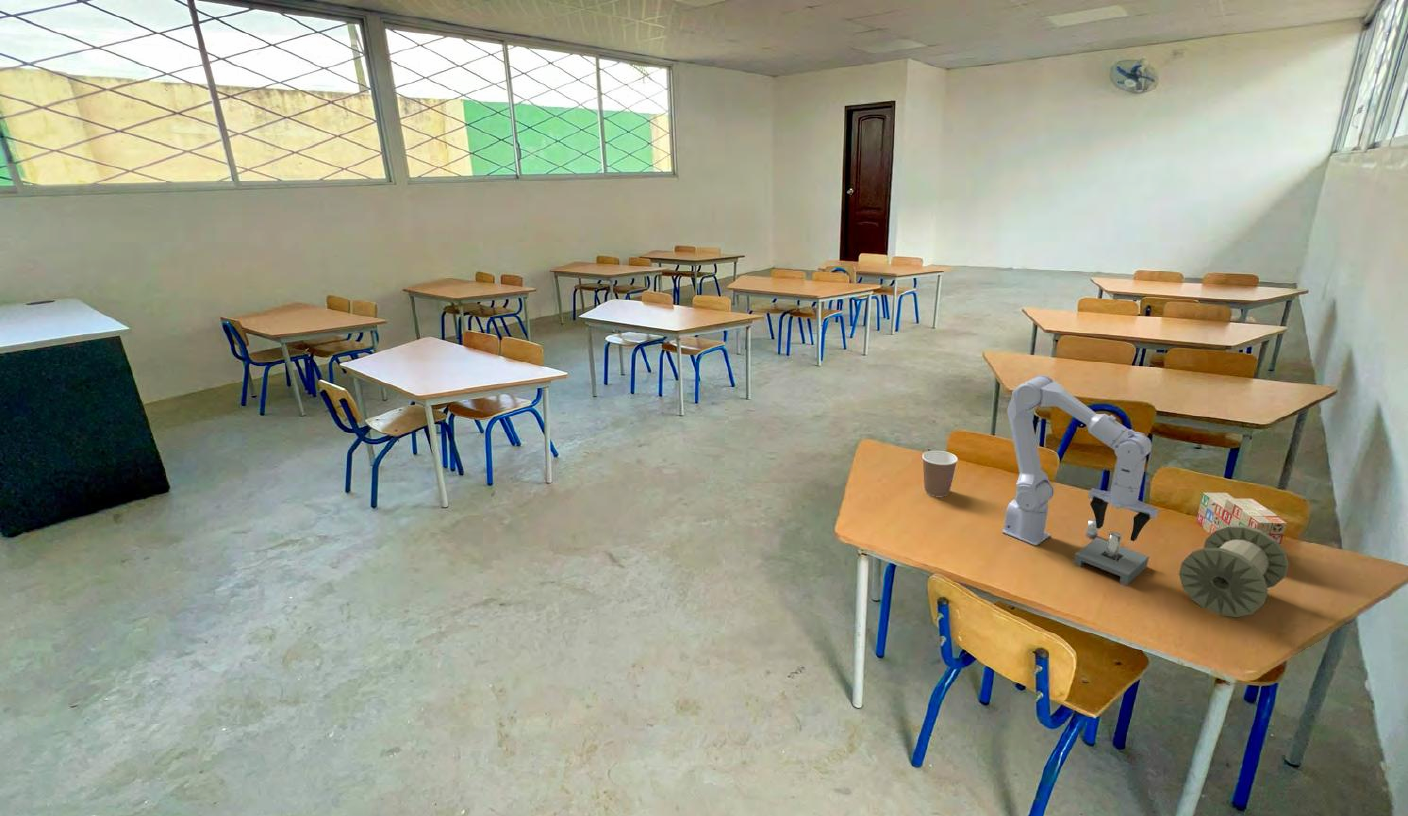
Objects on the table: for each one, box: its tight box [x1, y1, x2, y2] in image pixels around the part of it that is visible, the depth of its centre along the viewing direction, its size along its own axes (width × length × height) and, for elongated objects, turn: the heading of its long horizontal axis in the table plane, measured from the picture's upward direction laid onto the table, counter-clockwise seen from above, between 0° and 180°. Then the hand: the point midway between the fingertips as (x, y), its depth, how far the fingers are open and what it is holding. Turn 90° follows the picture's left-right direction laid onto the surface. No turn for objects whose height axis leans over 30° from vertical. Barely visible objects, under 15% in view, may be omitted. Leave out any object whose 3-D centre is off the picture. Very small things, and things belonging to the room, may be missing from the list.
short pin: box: [1085, 518, 1099, 540], centre depth 172 cm, size 3×3×4 cm
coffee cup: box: [921, 450, 959, 498], centre depth 198 cm, size 10×10×12 cm
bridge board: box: [1073, 536, 1150, 587], centre depth 159 cm, size 12×12×3 cm
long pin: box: [1104, 531, 1123, 561], centre depth 158 cm, size 3×3×9 cm
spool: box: [1178, 525, 1290, 618], centre depth 144 cm, size 16×15×15 cm
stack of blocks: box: [1196, 492, 1288, 545], centre depth 165 cm, size 21×6×12 cm, turn 173°
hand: (1116, 533), depth 157 cm, fingers open, 7 cm apart
